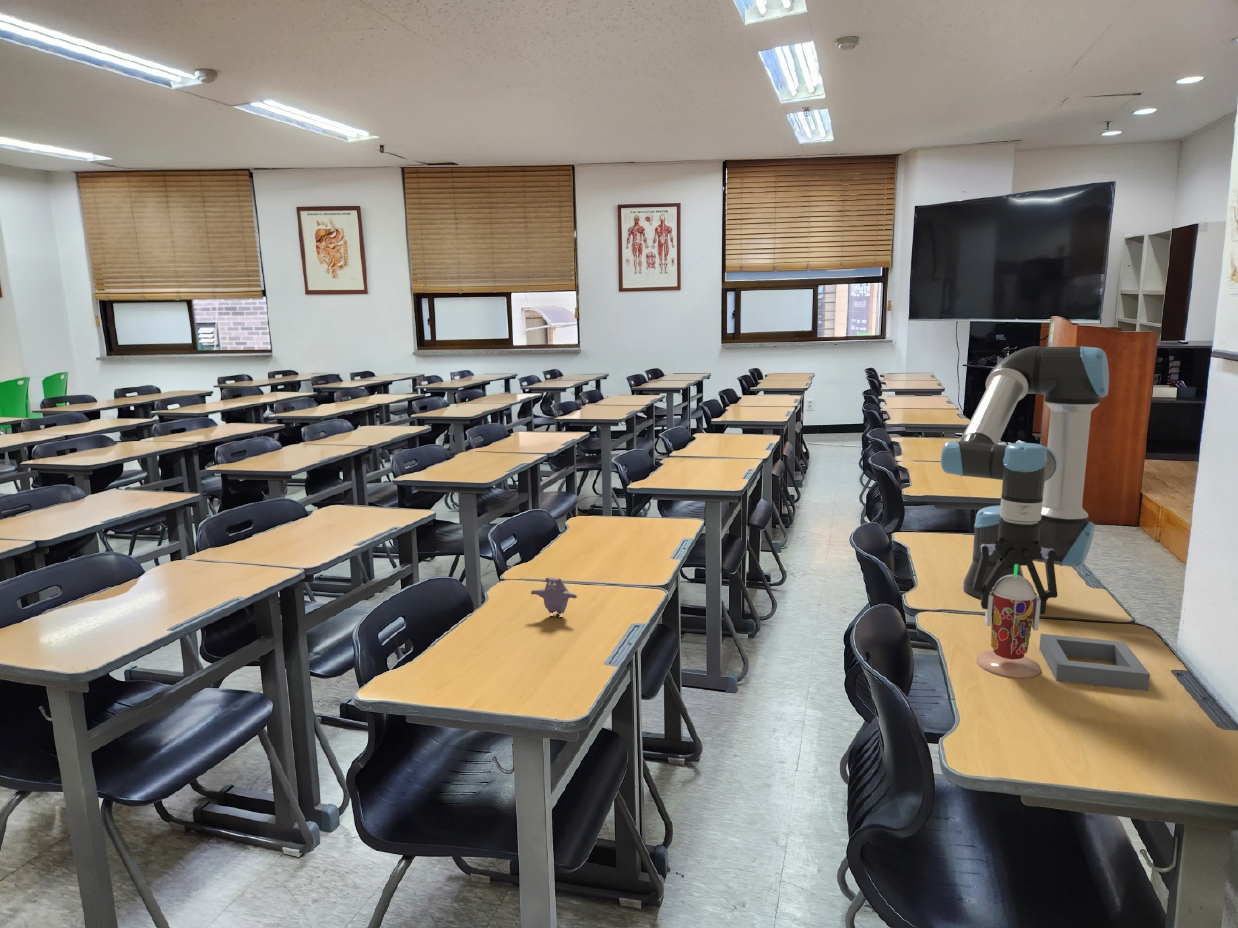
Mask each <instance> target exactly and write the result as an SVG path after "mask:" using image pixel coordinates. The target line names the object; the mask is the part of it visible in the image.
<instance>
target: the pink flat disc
mask: <svg viewBox="0 0 1238 928" xmlns="http://www.w3.org/2000/svg"><path fill="white" fill-rule="evenodd" d="M975 661H976V664H977V665H978V666H979V667H980V668H981V669H983V670H985V671H987V672H989V673H992V674H995V675H998V676H1001V677H1005V678H1006V677H1007V678H1013V679H1029V678H1030V679H1031V678H1033V677H1036V676H1039V674H1040V673H1041V666H1040V665H1039V663H1038V662H1036V661H1035V660H1034V659H1031V658H1030V657H1027V656H1025V655H1024V657H1023V658H1021V659H1015V660H1014V659H1006V658H1003V657H1000V656H998V655H996V654H995V653H994V650H991V651H990V650H989V651H984V652H981V653H978V655H977V656H976V660H975Z"/></svg>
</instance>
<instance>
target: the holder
mask: <svg viewBox="0 0 1238 928" xmlns="http://www.w3.org/2000/svg"><path fill="white" fill-rule="evenodd" d="M1038 647H1039V651H1040V653H1041V654H1042V657H1043V659H1044V660H1045V662H1046V665H1047V666H1048V668H1049V670H1050V672H1051V674H1052V675H1053V678H1054V680H1055V681H1057V682H1064V683H1065V682H1066V683H1074V684H1084V685H1092V686H1101V687H1109V688H1119V689H1127V690H1128V689H1129V690H1136V691H1144V692H1145V691H1146V692H1149V687H1150V679H1151V673H1150V672H1149V670H1147V668H1146V667H1145V665H1144V664H1142V662H1141V660H1140V659H1139V658H1138V657H1137V656H1136V654H1135V653H1134V652H1133V650H1131V648H1130V647H1129V645H1128V644H1127V643H1126V642H1125V641H1120V640H1119V641H1118V640H1110V639H1109V640H1108V639H1102V638H1101V639H1098V638H1090V637H1089V638H1088V637H1079V636H1069V635H1057V634H1049V633H1048V634H1047V633H1040V639H1039V646H1038ZM1068 657H1072V658H1073V657H1075V658H1082V659H1083V658H1084V659H1092V660H1093V659H1094V660H1103V661H1104V660H1105V661H1112V662H1113V663H1114V664H1106V663H1105V664H1104V663H1094V662H1083V661H1077V660H1069V659H1068Z"/></svg>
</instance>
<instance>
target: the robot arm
mask: <svg viewBox="0 0 1238 928" xmlns="http://www.w3.org/2000/svg"><path fill="white" fill-rule="evenodd" d="M1108 361H1109V360H1108V356H1107V354H1106V352H1105V350H1103V349H1102V348H1099V347H1094V346H1093V347H1092V346H1091V347H1090V346H1030V347H1029V346H1028V347H1026V348H1022V349H1019V350H1017V351H1015V352H1013V353H1011V354H1009V355H1007V356H1006V357H1005V358H1003V359H1001V360H1000V361H999V362H998V363H997V364H995V366H994V367H993V368H992V369H991V370H990V372H989V374H988V376H987V378H986V380H985V391H984V393H983V395H982V397H981V399H980V401H979V403H978V405H977V407H976V409H975V411H974V413H973V415H972V417H971V419H970V421H969V423H968V425H967V426H966V428H965V430H964V432H963V435H962V436H961V438H960V440H956V439H955V440H949V441H947V442H945V444H944V445H943V447H942V451H941V457H940V462H941V463H940V465H941V470H942V471H943V472H944V473H946V474H950V475H956V476H960V477H972V478H981V479H992V480H1000V481H1002V483H1001V484H1002V485H1001V498H1000V504H999V505H991V506H986V507H983V508H981V509H979V510H978V511H977V513H976V514H975V521H974V522H975V523H974V524H973V528H974V534H973V545H972V546H973V549H972V550H973V551H972V562H971V564H970V566H969V569H968V570H967V573H966V575H965V577H964V580H963V591H964V592H965V593H966V594H968V595H970V596H972V597H975V598H979V599H980V606H981V608H982V610H985V614H984V615H985V616H984V622H985V624H986V626H988V627H991V625H992V604H993V595H992V591H991V590H992V588H993V587H994V586H995V584H996V582H997V581H998V580H999V579H1000V578H1002V577H1003V576H1006V575H1010V574H1014V565H1015V564H1018V572H1017V575H1020V576H1022V577H1024V578H1025V576H1024V572H1023V569H1022V566H1024V567H1025V566H1026V567H1027V570H1028V572H1029V574H1030V577H1031V579H1032V582H1033V585H1034V588H1035V590H1036V593H1037V597H1036V602H1035V608H1034V614H1033V620H1032V626H1031V629H1033V631H1039V626H1040V623H1039V622H1040V615H1045V614H1046V608H1047V601H1048V600H1049V599H1052V598H1053V599H1055V598H1056V599H1057V597H1058V588H1057V586H1058V585H1057V579H1056V571H1055V570H1056V569H1055V565H1056V566H1060V567H1069V568H1071V567H1072V568H1079V567H1081V566H1082V565H1083V564H1084V563H1085V562H1086V559H1087V556H1088V554H1089V551H1090V547H1091V544H1092V541H1093V537H1094V532H1095V527H1096V526H1095V523H1094V522H1092V521H1089V514H1088V512H1087V511H1086V510H1085V509H1084V508H1083V501H1084V500H1083V498H1084V489H1085V479H1086V478H1085V477H1086V467H1087V458H1088V448H1089V447H1088V446H1089V438H1090V437H1089V436H1090V427H1091V415H1092V411H1093V410H1094V409H1095V408H1096V407H1098V406H1099V405H1100V401H1101V398H1105V397H1106V398H1107V396H1108V395H1109V388H1110V387H1109V385H1110V371H1109V362H1108ZM1028 394H1034V395H1044V400H1043V402H1044V404H1045V405H1046V406H1047V407H1048V408H1049V409H1050V414H1049V425H1048V434H1047V435H1048V436H1047V446H1045V445H1042V444H1041V443H1040V444H1039V443H1031V442H1011V443H1009V444H1008V445H1007V444H999V443H1000V440H1001V438H1002V437H1003V434H1004V433H1005V430H1006V428H1007V425H1008V424H1009V422H1010V419H1011V417H1012V414H1013V413H1014V411H1015V408H1016V407H1017V404H1018V402H1019V401H1021V400H1022V399H1024V398H1025V396H1026V395H1028ZM1034 562H1038V563H1044V567H1045V568H1044V569H1045V574H1046V584H1047V590H1045V587H1044V585H1043V583H1042V581H1041V578H1040V575H1039V573H1038V571H1037V569H1036V566H1035V563H1034Z"/></svg>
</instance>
